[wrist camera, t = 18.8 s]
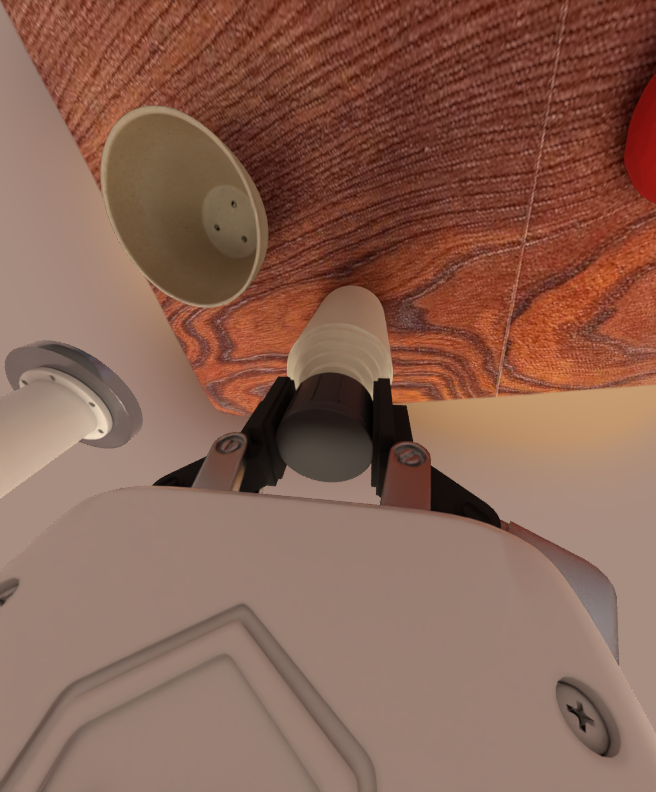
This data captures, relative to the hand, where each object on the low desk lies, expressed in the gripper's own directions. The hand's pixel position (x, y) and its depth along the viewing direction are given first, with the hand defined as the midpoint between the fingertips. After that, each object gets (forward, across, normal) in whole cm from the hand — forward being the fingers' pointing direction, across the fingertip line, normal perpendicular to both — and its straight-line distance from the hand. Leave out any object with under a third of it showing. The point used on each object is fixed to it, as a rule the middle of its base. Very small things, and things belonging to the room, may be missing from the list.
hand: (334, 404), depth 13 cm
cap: (-3, 0, 0) cm, 3 cm away
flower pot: (+14, +10, -8) cm, 19 cm away
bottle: (+14, 0, 0) cm, 14 cm away
